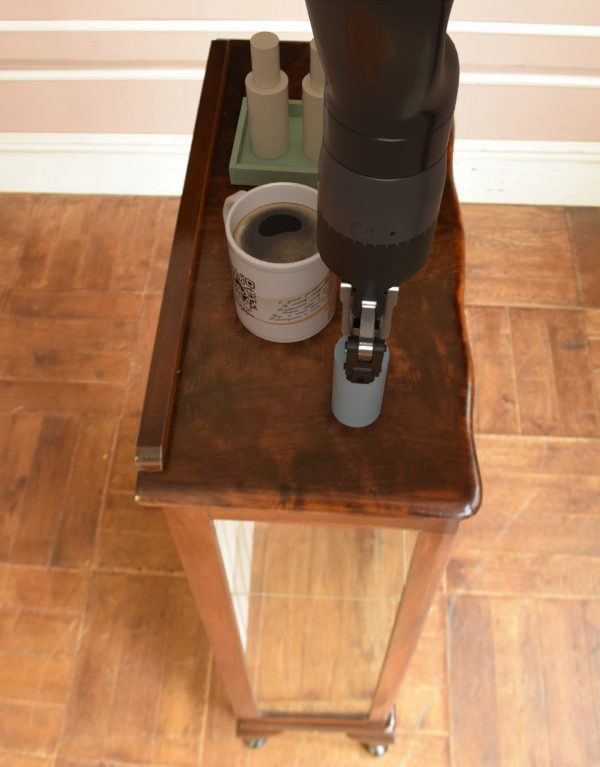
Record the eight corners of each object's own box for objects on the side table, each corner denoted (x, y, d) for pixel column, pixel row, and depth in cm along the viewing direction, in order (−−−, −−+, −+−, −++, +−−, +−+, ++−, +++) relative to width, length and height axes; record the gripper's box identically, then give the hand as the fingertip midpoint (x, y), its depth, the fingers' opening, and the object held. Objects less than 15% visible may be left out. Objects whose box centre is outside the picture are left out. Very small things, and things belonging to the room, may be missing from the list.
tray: (408, 123, 88) (411, 106, 86) (406, 195, 83) (408, 179, 80) (244, 114, 90) (243, 96, 88) (230, 184, 84) (228, 167, 82)
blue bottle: (381, 386, 70) (396, 298, 59) (379, 429, 68) (394, 345, 57) (333, 383, 70) (338, 293, 59) (329, 425, 68) (334, 340, 57)
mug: (227, 345, 73) (215, 268, 63) (228, 248, 79) (217, 165, 69) (339, 341, 73) (344, 264, 63) (331, 245, 79) (335, 161, 70)
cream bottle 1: (291, 133, 87) (289, 27, 76) (287, 160, 85) (284, 55, 74) (252, 131, 87) (245, 25, 76) (247, 158, 85) (238, 53, 74)
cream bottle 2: (343, 136, 87) (348, 30, 75) (340, 164, 84) (345, 58, 73) (304, 134, 87) (303, 28, 76) (300, 161, 85) (299, 56, 73)
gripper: (440, 291, 43) (406, 434, 58) (441, 119, 51) (411, 285, 65) (306, 281, 44) (306, 426, 58) (326, 112, 51) (322, 278, 66)
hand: (362, 351), depth 62 cm, fingers open, 4 cm apart
